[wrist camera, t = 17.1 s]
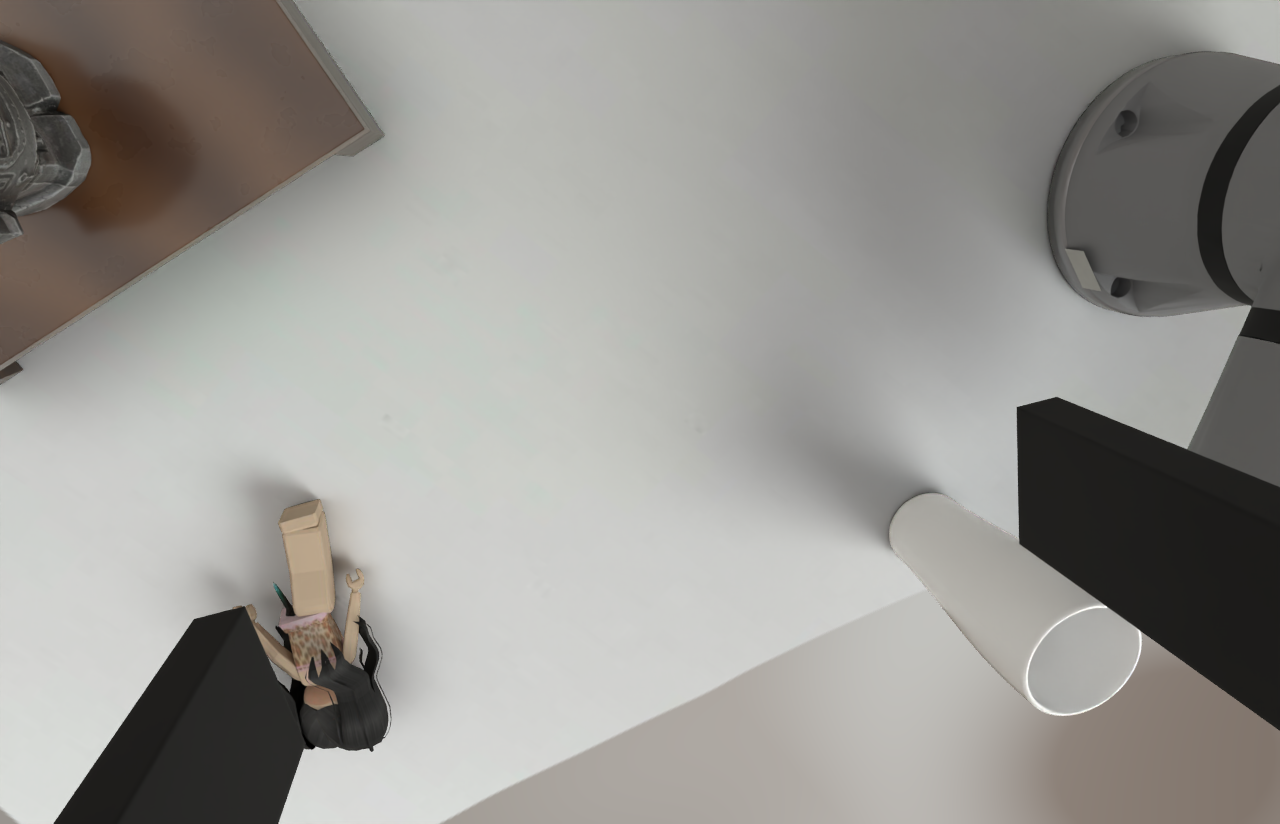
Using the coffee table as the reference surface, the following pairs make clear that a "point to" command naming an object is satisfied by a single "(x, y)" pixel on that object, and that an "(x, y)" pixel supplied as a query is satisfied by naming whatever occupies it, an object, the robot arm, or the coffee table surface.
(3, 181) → the toy
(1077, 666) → the drinking glass
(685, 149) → the coffee table surface
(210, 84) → the shelf
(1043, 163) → the coffee table surface
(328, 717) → the toy figure
